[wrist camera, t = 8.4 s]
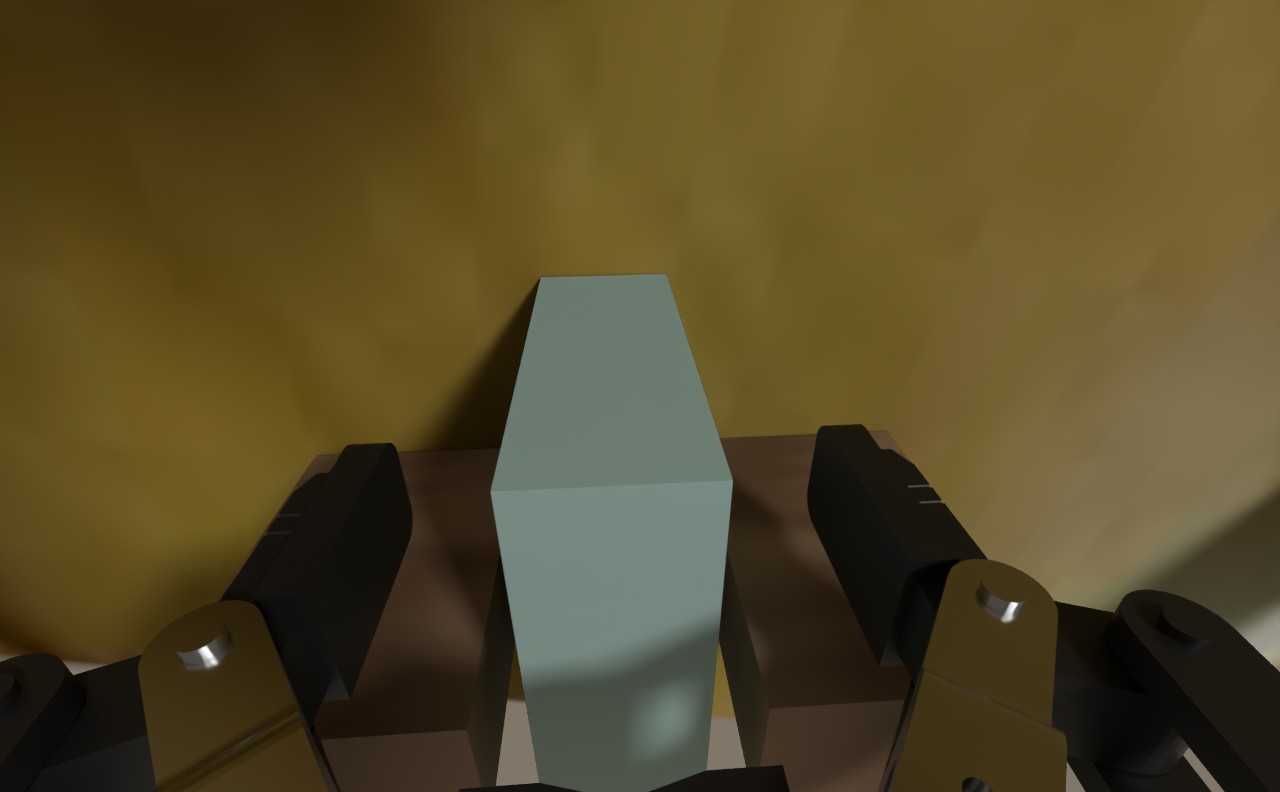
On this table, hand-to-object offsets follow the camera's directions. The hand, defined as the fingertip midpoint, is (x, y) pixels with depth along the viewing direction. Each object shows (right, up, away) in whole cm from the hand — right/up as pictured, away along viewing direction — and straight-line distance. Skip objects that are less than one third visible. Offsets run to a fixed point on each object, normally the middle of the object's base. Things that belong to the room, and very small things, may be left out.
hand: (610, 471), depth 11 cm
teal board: (0, -1, +6) cm, 6 cm away
